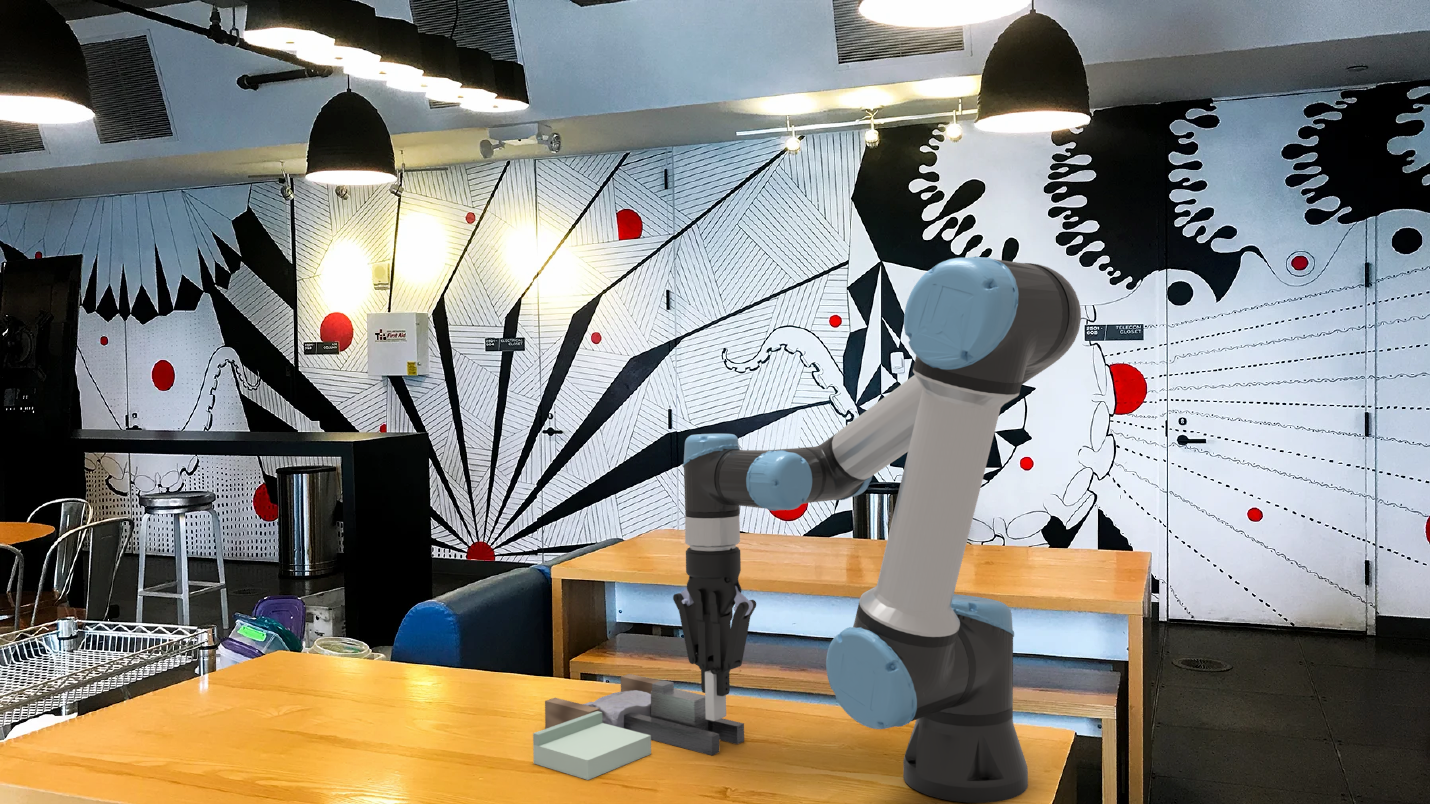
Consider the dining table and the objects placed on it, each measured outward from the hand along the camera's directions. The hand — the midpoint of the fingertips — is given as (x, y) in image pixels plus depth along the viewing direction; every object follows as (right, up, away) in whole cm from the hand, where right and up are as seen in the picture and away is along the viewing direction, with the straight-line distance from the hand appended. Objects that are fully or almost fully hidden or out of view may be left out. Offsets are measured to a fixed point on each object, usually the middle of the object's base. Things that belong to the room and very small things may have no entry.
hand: (715, 717), depth 151 cm
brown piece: (-16, -4, +12) cm, 20 cm away
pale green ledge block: (-16, -4, -5) cm, 18 cm away
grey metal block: (-5, -4, +4) cm, 8 cm away
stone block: (-15, -4, +12) cm, 19 cm away
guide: (-5, -4, +4) cm, 7 cm away
